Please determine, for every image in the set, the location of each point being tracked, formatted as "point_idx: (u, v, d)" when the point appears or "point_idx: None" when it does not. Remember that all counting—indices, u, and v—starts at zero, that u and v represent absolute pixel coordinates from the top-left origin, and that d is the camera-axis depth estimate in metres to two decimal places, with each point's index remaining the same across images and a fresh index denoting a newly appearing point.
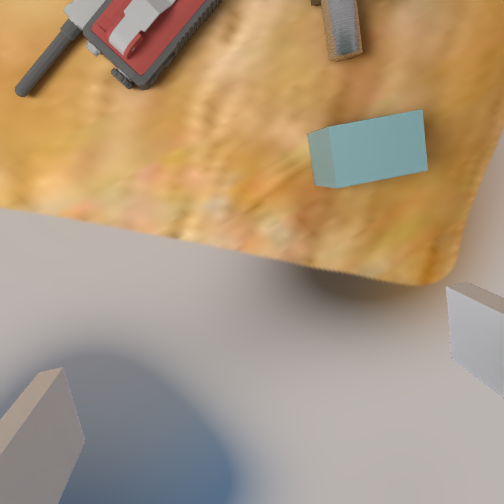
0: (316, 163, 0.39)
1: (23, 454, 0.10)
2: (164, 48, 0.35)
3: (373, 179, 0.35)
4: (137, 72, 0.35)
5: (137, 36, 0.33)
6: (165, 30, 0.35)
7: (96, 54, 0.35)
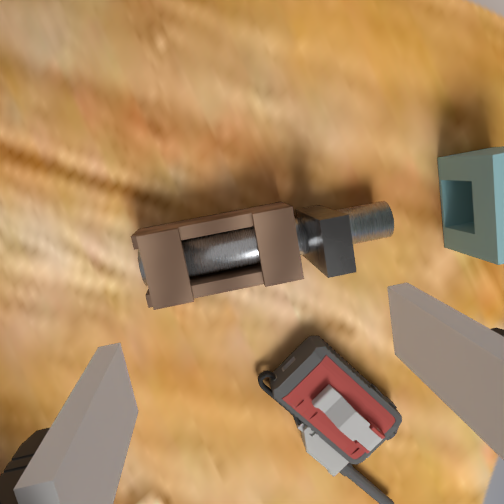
0: None
1: (100, 413, 0.11)
2: (374, 399, 0.37)
3: None
4: (393, 423, 0.37)
5: (373, 430, 0.36)
6: (360, 399, 0.36)
7: None
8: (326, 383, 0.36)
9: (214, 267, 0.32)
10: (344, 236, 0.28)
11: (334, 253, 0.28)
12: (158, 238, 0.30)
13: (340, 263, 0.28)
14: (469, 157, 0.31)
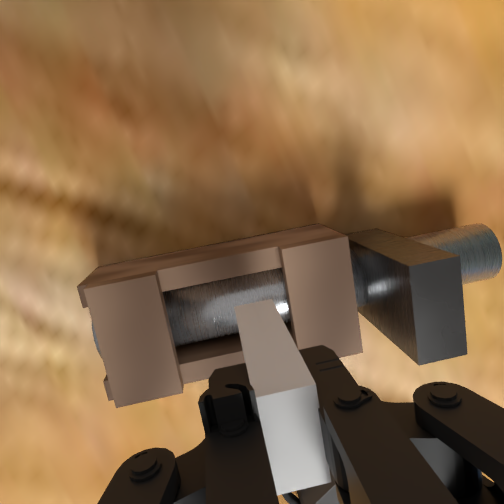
0: None
1: None
2: None
3: None
4: None
5: None
6: None
7: None
8: None
9: (216, 332, 0.20)
10: (450, 294, 0.16)
11: (430, 324, 0.16)
12: (122, 291, 0.17)
13: (441, 339, 0.16)
14: None
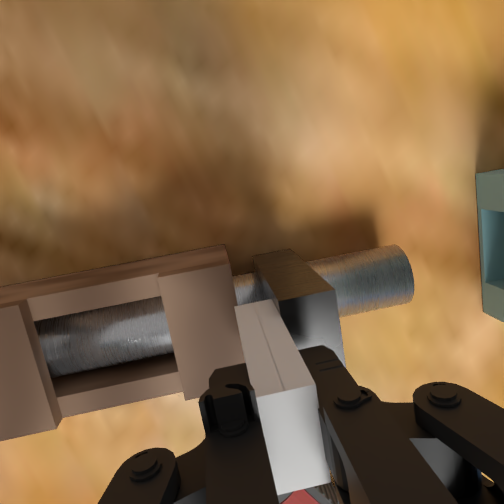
0: None
1: None
2: None
3: None
4: None
5: None
6: None
7: None
8: None
9: (106, 361, 0.19)
10: (326, 330, 0.14)
11: None
12: None
13: None
14: None
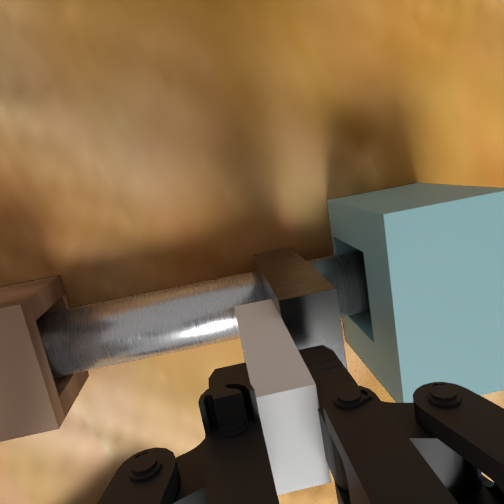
0: None
1: None
2: None
3: None
4: None
5: None
6: None
7: None
8: None
9: (106, 361, 0.19)
10: (327, 330, 0.14)
11: None
12: None
13: None
14: (357, 210, 0.17)
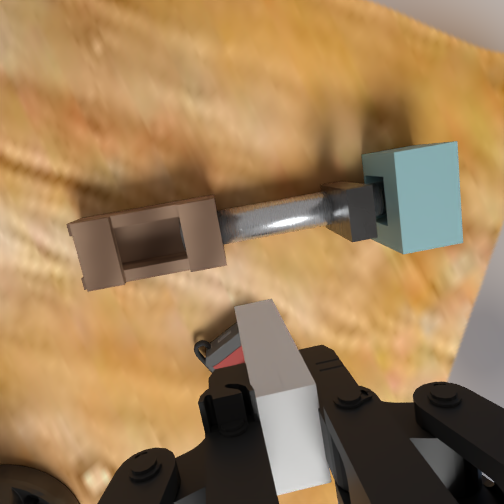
0: None
1: None
2: None
3: (459, 203, 0.33)
4: None
5: None
6: None
7: None
8: None
9: (247, 235, 0.35)
10: (367, 204, 0.31)
11: (358, 220, 0.31)
12: (90, 226, 0.33)
13: (363, 229, 0.31)
14: (380, 154, 0.34)
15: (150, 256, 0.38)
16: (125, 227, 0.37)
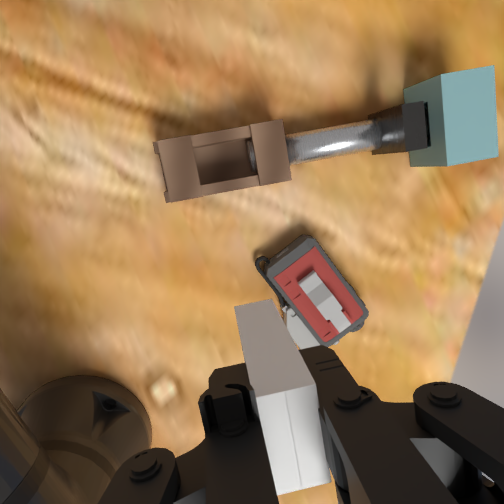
0: None
1: None
2: (348, 291, 0.44)
3: (495, 121, 0.38)
4: (361, 315, 0.45)
5: (344, 313, 0.43)
6: (337, 289, 0.44)
7: (338, 340, 0.46)
8: (311, 270, 0.43)
9: (307, 155, 0.40)
10: (419, 118, 0.36)
11: (411, 132, 0.36)
12: (175, 142, 0.37)
13: (415, 140, 0.36)
14: (425, 81, 0.39)
15: (217, 180, 0.42)
16: (196, 153, 0.42)
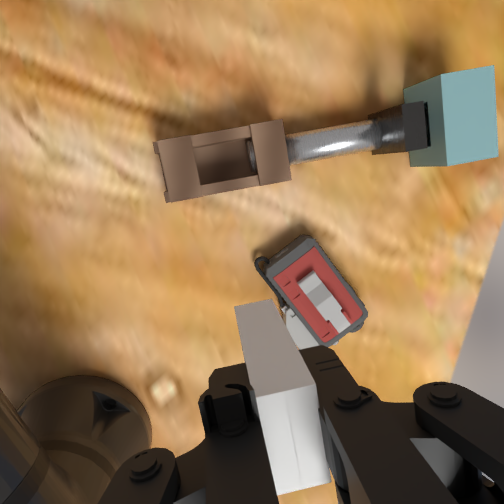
0: None
1: None
2: (347, 291, 0.44)
3: (495, 121, 0.38)
4: (360, 315, 0.45)
5: (344, 314, 0.43)
6: (336, 289, 0.44)
7: (337, 340, 0.46)
8: (311, 270, 0.43)
9: (307, 155, 0.40)
10: (419, 118, 0.36)
11: (411, 132, 0.36)
12: (175, 142, 0.37)
13: (415, 140, 0.36)
14: (425, 81, 0.39)
15: (217, 180, 0.42)
16: (196, 153, 0.42)
